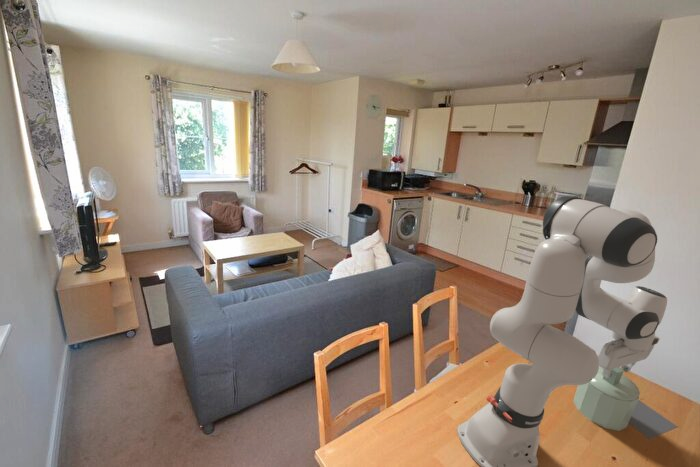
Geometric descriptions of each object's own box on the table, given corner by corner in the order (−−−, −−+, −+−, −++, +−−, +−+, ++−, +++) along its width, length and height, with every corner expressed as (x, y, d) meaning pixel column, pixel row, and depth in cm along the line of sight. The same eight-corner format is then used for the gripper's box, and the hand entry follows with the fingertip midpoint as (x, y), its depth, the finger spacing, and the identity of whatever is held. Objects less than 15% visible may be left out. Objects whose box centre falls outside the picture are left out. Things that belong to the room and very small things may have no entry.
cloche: (607, 436, 97) (626, 391, 91) (563, 400, 110) (577, 358, 104) (636, 423, 102) (656, 379, 96) (591, 389, 115) (606, 349, 109)
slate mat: (649, 440, 97) (650, 439, 97) (598, 401, 110) (599, 400, 110) (677, 427, 103) (677, 426, 102) (625, 392, 116) (626, 391, 116)
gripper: (621, 349, 90) (605, 387, 95) (663, 338, 97) (646, 374, 102) (598, 335, 96) (583, 372, 100) (639, 326, 103) (624, 360, 107)
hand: (615, 373), depth 101 cm, fingers open, 8 cm apart
